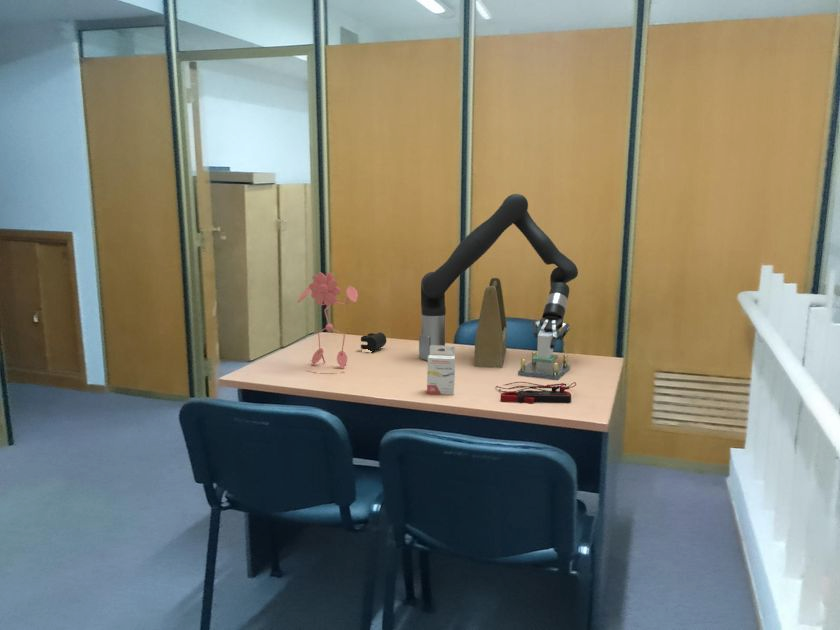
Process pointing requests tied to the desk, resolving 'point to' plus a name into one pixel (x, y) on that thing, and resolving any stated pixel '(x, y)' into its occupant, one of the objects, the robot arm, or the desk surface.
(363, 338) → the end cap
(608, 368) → the desk surface
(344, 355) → the figurine
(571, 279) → the robot arm
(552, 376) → the standoff chassis
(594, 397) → the desk surface
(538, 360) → the board module
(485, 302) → the caddy
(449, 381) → the ink cartridge box
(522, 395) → the digital clamp meter
